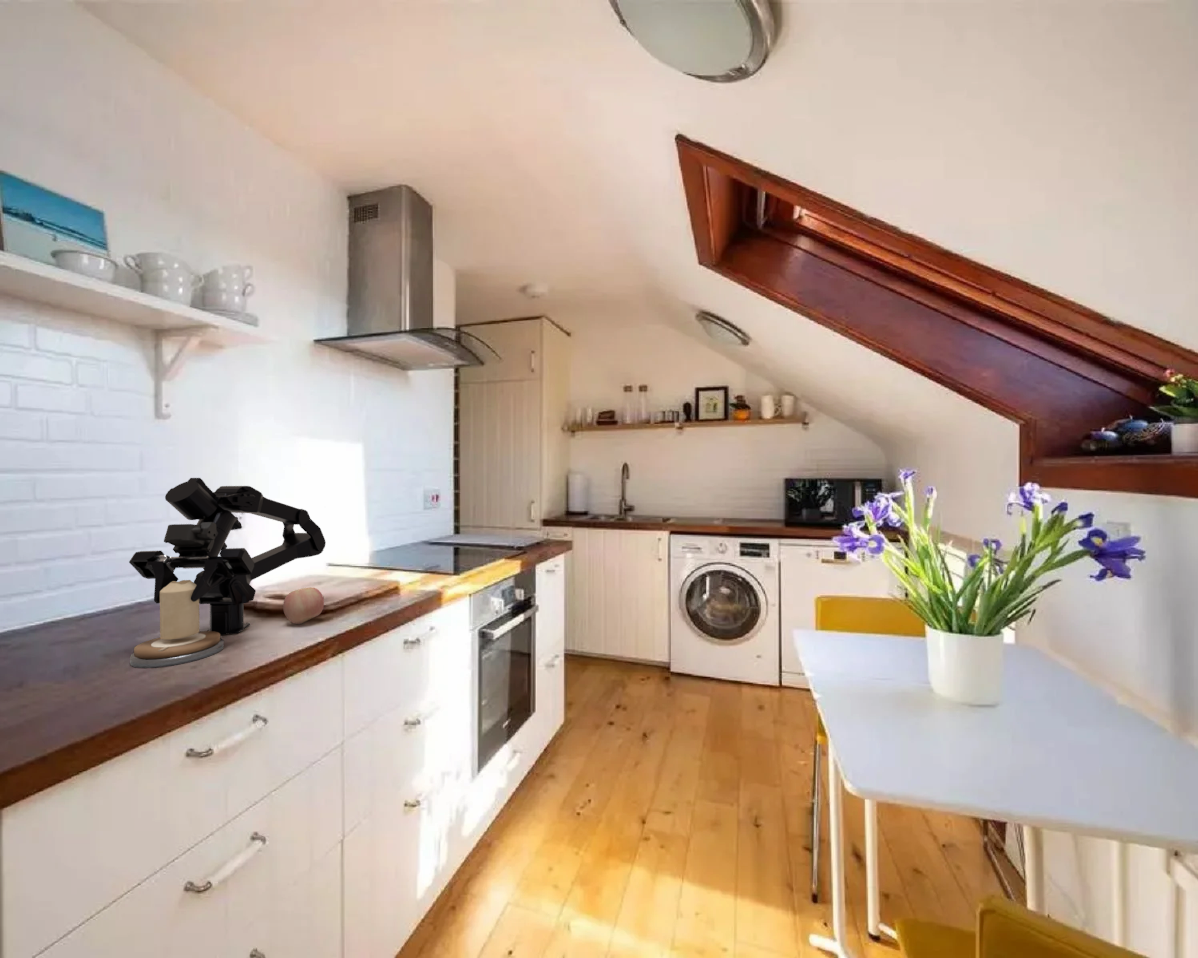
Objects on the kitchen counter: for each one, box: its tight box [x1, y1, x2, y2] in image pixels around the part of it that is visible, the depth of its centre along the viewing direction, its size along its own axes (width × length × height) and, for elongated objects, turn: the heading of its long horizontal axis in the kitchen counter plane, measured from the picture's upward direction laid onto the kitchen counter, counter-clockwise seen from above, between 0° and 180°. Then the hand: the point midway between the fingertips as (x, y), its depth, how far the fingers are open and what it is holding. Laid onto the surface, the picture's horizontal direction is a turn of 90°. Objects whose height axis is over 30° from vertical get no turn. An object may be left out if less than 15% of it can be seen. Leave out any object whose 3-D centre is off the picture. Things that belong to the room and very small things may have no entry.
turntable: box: [133, 630, 221, 659], centre depth 89 cm, size 12×12×1 cm
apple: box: [282, 586, 325, 625], centre depth 109 cm, size 8×8×8 cm
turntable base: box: [129, 637, 225, 669], centre depth 89 cm, size 13×13×1 cm
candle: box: [159, 579, 200, 639], centre depth 89 cm, size 6×6×10 cm
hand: (174, 601), depth 88 cm, fingers closed on candle, 5 cm apart
